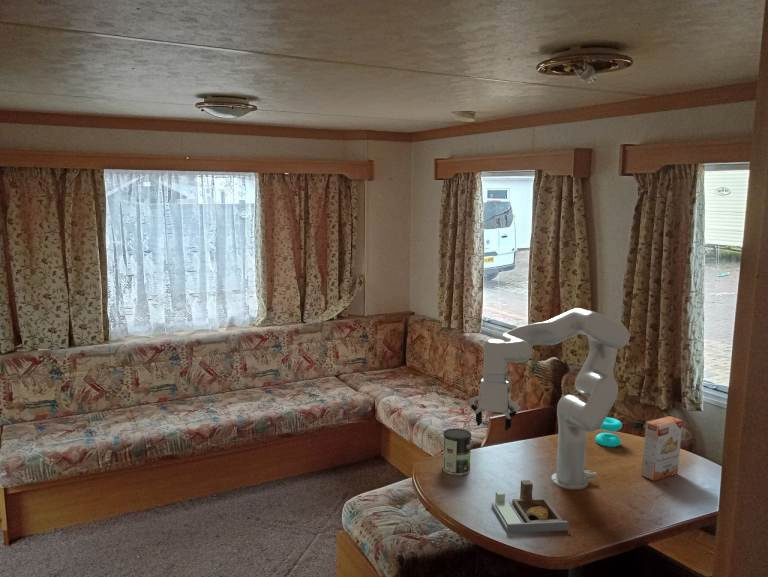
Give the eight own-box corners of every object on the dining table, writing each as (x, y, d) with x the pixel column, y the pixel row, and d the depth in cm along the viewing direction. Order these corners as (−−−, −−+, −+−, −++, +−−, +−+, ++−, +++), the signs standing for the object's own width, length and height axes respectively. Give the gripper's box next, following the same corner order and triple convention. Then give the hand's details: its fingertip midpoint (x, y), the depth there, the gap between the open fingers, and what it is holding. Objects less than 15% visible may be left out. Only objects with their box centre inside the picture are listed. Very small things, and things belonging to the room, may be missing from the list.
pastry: (533, 510, 207) (533, 498, 207) (553, 516, 203) (554, 504, 203) (522, 521, 199) (522, 510, 199) (543, 528, 196) (543, 516, 195)
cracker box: (654, 482, 228) (659, 426, 226) (640, 476, 234) (644, 421, 231) (679, 474, 236) (683, 419, 233) (664, 468, 241) (669, 414, 238)
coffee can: (471, 465, 241) (472, 429, 239) (469, 476, 231) (470, 439, 229) (443, 462, 243) (444, 427, 241) (440, 473, 233) (441, 436, 231)
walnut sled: (540, 499, 213) (541, 479, 212) (562, 528, 194) (563, 506, 194) (508, 500, 212) (509, 480, 211) (527, 530, 193) (528, 508, 192)
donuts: (599, 423, 259) (594, 415, 269) (597, 447, 260) (593, 438, 270) (625, 425, 258) (619, 417, 267) (623, 449, 259) (617, 439, 269)
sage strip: (505, 502, 211) (505, 490, 210) (523, 530, 193) (524, 518, 192) (492, 502, 210) (492, 491, 210) (509, 531, 192) (509, 518, 192)
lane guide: (547, 505, 210) (547, 496, 209) (567, 531, 194) (567, 521, 193) (491, 507, 208) (492, 498, 207) (507, 534, 191) (507, 524, 191)
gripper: (523, 377, 209) (521, 427, 212) (473, 371, 217) (472, 419, 220) (517, 383, 203) (515, 434, 205) (465, 376, 210) (464, 426, 213)
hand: (493, 426), depth 212 cm, fingers open, 9 cm apart
